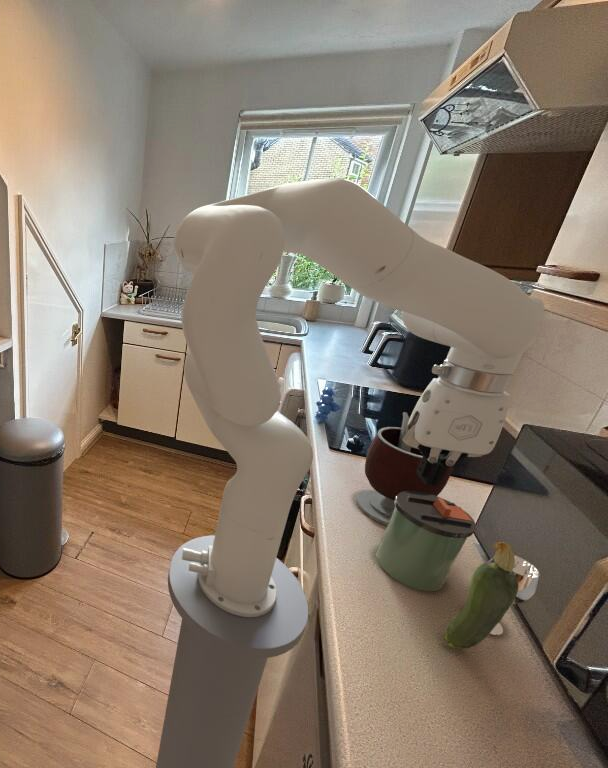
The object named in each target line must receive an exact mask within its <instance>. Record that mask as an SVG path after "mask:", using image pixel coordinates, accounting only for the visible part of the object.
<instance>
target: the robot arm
mask: <svg viewBox="0 0 608 768" xmlns="http://www.w3.org/2000/svg"><path fill="white" fill-rule="evenodd" d="M173 250H174V254H175V257H176V259H177V261H178V262H179V264H180V266H182V267H183V268H184V269H185V270H186V271H188V272H189V273H192V274H193V275H192V277H191V280H190V282H189V285H188V287H187V291H186V294H185V297H184V300H183V304H182V308H181V319H180V321H181V328H182V332H183V335H184V339H185V342H186V344H187V346H188V349H189V351H188V353H187V355H186V357H185V360H184V365H183V374H184V379H185V382H186V386H187V388H188V389H189V392H190V393H191V397H192V398H193V400H194V402H195V404H196V406H197V408H198V410H199V411H200V414H201V415H202V418H203V419H204V421H205V423H206V426H207V427H208V429H209V430H210V432H211V434H212V435H213V436H214V438H215V439H216V440H217V441H218V443H219V444H220V445H221V446H222V447H223V448H224V449H225V451H227V453H228V455H230V457H231V458H232V459H233V460H234V462H235V464H236V472H235V473H234V474H233V476H232V477H230V478H229V480H228V481H227V482H226V484H225V486H224V489H223V492H222V497H221V501H220V508H219V513H218V518H217V523H216V528H215V533H214V535H215V538H214V543H213V546H210V545H209V547H208V551H203V550H202V553H201V552H197V551H194V550H191V549H186V548H183V554H182V560H186V561H191V562H192V561H194V562H198V563H200V565H198V564H196V563H191V562H189V571H192V572H198V580H199V584H200V586H201V588H202V590H203V592H204V593H205V595H206V596H207V597H208V598H209V599H210V600H211V601H212V602H213V603H214V604H215V605H217V606H218V607H219V608H221V609H223V610H225V611H226V612H229V613H231V614H234V615H237V616H242V617H258V616H261V615H264V614H266V613H268V612H269V611H270V610H271V609H272V608H273V606H274V604H275V601H276V597H277V588H276V584H275V582H274V580H273V578H272V577H271V575H272V571H273V568H274V564H275V560H276V558H278V557H277V556H278V553H279V549H280V546H281V543H282V538H283V535H284V533H285V532H284V531H285V528H286V525H287V522H288V517H289V514H290V511H291V507H292V504H293V502H294V499H295V496H296V494H297V492H298V490H299V488H300V486H301V484H302V483H303V481H304V479H306V476H307V475H308V472H309V471H310V469H311V466H312V464H313V460H314V452H313V451H314V450H313V446H312V444H311V441H310V440H309V439H308V437H307V435H306V434H305V432H304V431H303V430H302V429H301V428H300V427H298V426H297V424H295V423H294V422H293V421H291V420H290V419H289V418H287V416H284V414H282V413H280V411H278V409H279V407H280V404H281V399H282V398H281V397H282V394H281V392H282V391H281V386H280V382H279V379H278V375H277V372H276V370H275V368H274V365H273V363H272V360H271V358H270V356H269V353H268V350H267V347H266V345H265V343H264V340H263V337H262V334H261V332H260V331H261V330H260V328H259V324H258V319H257V310H258V305H259V301H260V298H261V296H262V294H263V292H264V290H265V288H266V286H267V284H268V283H269V282H270V280H271V278H272V277H273V275H274V273H275V272H276V270H277V269H278V268H279V265H280V263H281V260H282V257H283V255H284V253H289V254H297V255H301V256H304V257H306V258H308V259H309V260H311V261H312V262H314V263H315V264H317V265H318V266H320V267H321V268H323V269H324V270H325V271H327V272H328V273H330V274H331V275H333V276H334V277H335V278H337V279H338V280H340V281H341V282H343V283H344V284H345V285H347V286H348V287H349V288H351V289H352V290H354V291H355V292H356V293H357V294H359V295H361V296H362V297H365V298H366V299H369V300H371V301H373V302H376V303H377V304H379V305H383V306H384V307H388V308H391V309H394V310H397V311H399V312H402V313H401V314H402V315H401V318H402V323H403V325H404V326H405V328H406V329H407V331H409V332H410V333H411V334H413V335H414V336H416V337H419V338H421V339H424V340H427V341H430V342H433V343H437V344H440V345H443V346H447V347H450V348H449V351H448V352H447V356H446V358H445V359H444V360H443V362H442V364H440V365H439V364H433V366H432V368H431V373H432V374H434V375H437V376H438V377H437V378H436V377H434V378H432V380H431V381H430V382H429V384H428V385H427V386H426V388H425V389H424V391H423V392H422V394H421V396H420V397H419V399H418V401H417V402H416V404H415V406H414V408H413V410H412V412H411V415H410V416H409V421H408V424H407V431H408V432H407V434H406V435H405V436H404V438H403V441H404V443H405V444H406V445H408V446H411V447H413V448H416V449H419V451H420V452H421V454H422V455H423V457H422V459H421V462H420V464H419V466H418V469H417V475H418V477H419V478H420V479H421V480H422V481H423V482H424V484H426V485H430V484H431V485H432V486H438V484H439V482H440V480H442V478H443V476H444V474H445V472H446V470H447V468H448V466H452V465H453V466H454V465H455V464H456V462H458V461H460V460H462V459H465V458H482V457H483V456H484V455H488V454H490V453H492V451H493V450H494V448H495V447H496V444H497V443H498V440H499V438H500V435H501V433H502V430H503V427H504V424H505V422H506V418H507V415H508V409H509V405H510V400H511V399H510V397H511V394H510V393H509V392H507V391H506V390H507V387H508V386H509V383H510V381H511V379H512V377H513V375H514V373H515V371H516V370H517V367H518V365H519V363H520V361H521V359H522V356H523V354H524V353H525V351H526V350H527V349H528V348H529V347H531V345H532V344H534V342H535V341H536V340H537V338H538V336H539V334H540V332H541V328H542V316H543V314H544V310H545V303H544V301H543V300H542V299H540V298H538V297H536V296H532V295H528V294H527V293H526V292H525V291H524V290H523V289H522V288H521V287H520V286H518V285H517V284H516V283H515V282H514V281H512V280H511V279H509V278H507V277H506V276H504V275H503V274H501V273H499V272H497V271H495V270H493V269H491V268H489V267H487V266H485V265H483V264H480V263H478V262H476V261H475V260H471V259H470V258H467V257H465V256H463V255H461V254H458V253H457V252H454V251H453V250H450V249H448V248H446V247H443V246H442V245H439V244H437V243H434V242H432V241H430V240H427V239H426V238H424V237H422V236H421V235H420V234H419V233H417V232H416V231H415V230H414V229H413V228H411V227H410V226H409V225H408V224H407V223H405V222H404V221H402V220H401V219H400V218H399V217H398V216H397V215H395V214H394V213H393V212H392V210H390V209H389V208H388V207H387V206H385V205H384V204H383V203H382V202H381V201H379V200H378V198H376V197H375V196H374V195H372V194H371V193H370V191H369V192H368V190H366V188H364V187H362V186H361V185H360V184H358V183H356V182H354V181H352V180H349V179H346V178H342V177H327V178H317V179H310V180H308V179H307V180H301V181H300V180H299V181H293V182H287V183H282V184H279V185H275V186H273V187H269V188H265V189H262V190H259V191H255V192H252V193H247V194H244V195H240V196H237V197H234V198H230V199H226V200H221V201H218V202H215V203H210V204H207V205H203V206H200V207H198V208H195V209H194V210H193V211H191V212H189V213H188V214H186V216H185V217H184V218H183V219H182V220H181V221H180V223H179V225H178V227H177V228H176V231H175V233H174V238H173Z"/></svg>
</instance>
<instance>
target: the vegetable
mask: <svg viewBox="0 0 608 768" xmlns="http://www.w3.org/2000/svg"><path fill="white" fill-rule="evenodd" d="M493 551H494V552H495V553H494V555H493V557H494V560H495V563H488V562H484V563H482V564H479V565H478V566H476V568H475V570H474V571H473V573H472V576H471V579H470V583H469V587H468V592H467V600H466V603H465V605H464V607H463V609H461V611H460V612H459V613H458V614H457V615H455V617H454V618H453V620H452V621H451V622H450V623H449V624H448V625H447V627H446V629H445V632H444V637H445V641H446V642H447V646H448V647H449V648H451V649H452V648H454V649H462V650H469V649H471V648H474V647H475V646H478V644H480V643H481V642H483V641H484V640H485V639H486V638H487V637H489V635H491V634H490V632H491V631H492V630H493V629H494V627H495V626H496V625H497V624H498V623H500V622H501V620H502V619H503V617H504V616H505V614H506V613H507V612H508V611H509V609H510V607H511V606H512V605H513V604H512V603H513V601H514V599H515V597H516V595H517V592H518V581H517V579H516V577H515V575H514V573H513V572H512V571H513V568H514V564H515V557H514V555H515V552H514V551H513V547H512V546H511V545H510V544H508V543H507V542H505V541H497V542H495V543H493Z"/></svg>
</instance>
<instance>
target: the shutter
mask: <svg viewBox="0 0 608 768" xmlns="http://www.w3.org/2000/svg"><path fill="white" fill-rule="evenodd" d="M441 498H442V497H440V498H437V499H436V502H435V503H433V505H434V506H435V507H436V509H437V510H438V511H439V512H440V514H441V515H442V516H443V517H448V518H454V519H459V520H465V521H470V522H471V523H472V520H471V518H470V517H469V516H468V515H467V514H466V513H467V512H466V511H465V510H464V509H463V508H462V507H461V506H458V505H456V506H452V505H447V504H446V502H445V501H444V500H443V499H444V498H443V499H441ZM464 511H465V512H466V513H465V512H464Z"/></svg>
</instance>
